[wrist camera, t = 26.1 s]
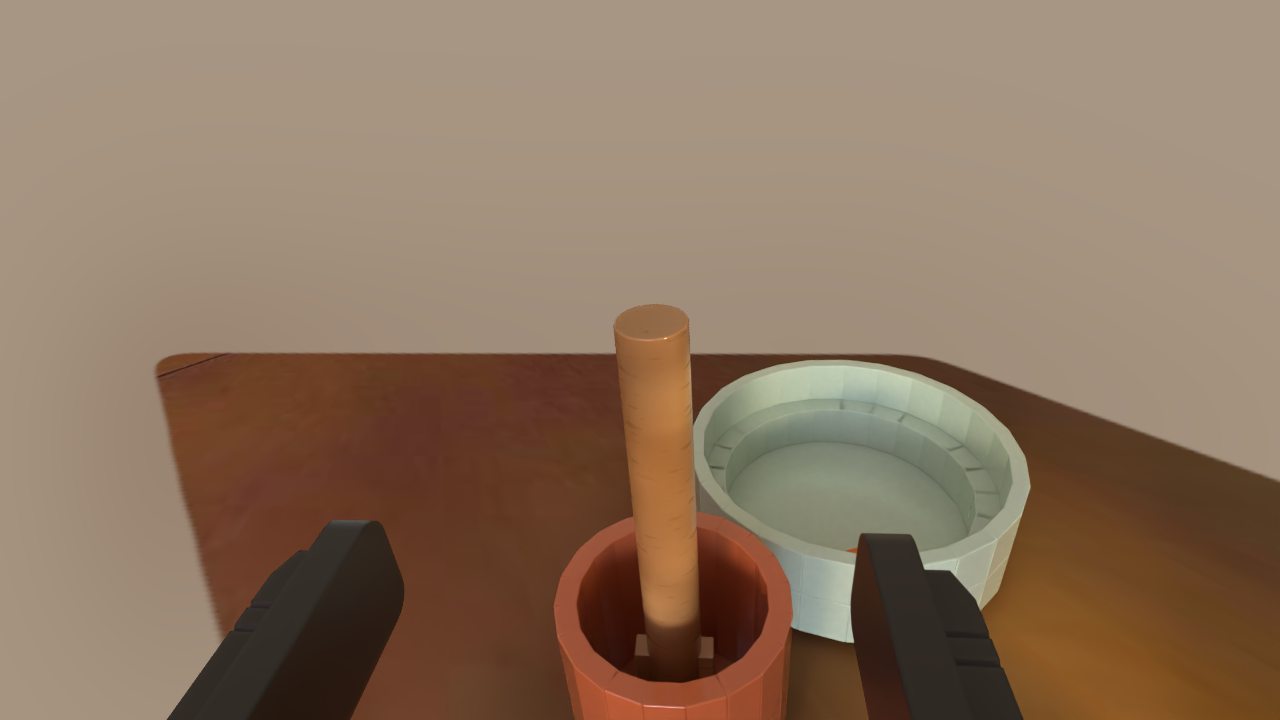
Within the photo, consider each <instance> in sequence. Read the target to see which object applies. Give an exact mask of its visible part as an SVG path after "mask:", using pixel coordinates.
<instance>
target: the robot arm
mask: <svg viewBox="0 0 1280 720" xmlns="http://www.w3.org/2000/svg"><path fill="white" fill-rule="evenodd" d="M403 601H404V583H403V579H402V576H401V573H400V570H399V568H398V565H397V562H396V560H395V557H394V554H393V552H392V549H391V546H390V544H389V541H388V538H387V536H386V533H385V530H384V528H383V526H382V525H381V523H379V522H378V521H359V520H333V521H331V522H329V523H328V524H327V525H326V526H325V527H324V529H323V530H322V531H321V533H320V534H319V536H318V537H317V539H316V540H315V542H314V543H313V545H312V546H311V548H310V549H309V551H298V552H297V553H296V554H295V555H293V556H292V557H291V558H290V559H289V560H287V561H286V562H285V563H284V564H283V565H281V566H280V567H279V568H278V569H277V570H275V571H274V572H273V573H272V574H271V575H270V576H269V578H268V579H267V580H266V582H265V583H264V585H263V586H262V587H261V589H260V590H259V592H258V593H257V594H256V596H255V597H254V599H253V600H252V601H251V607H250V608H246V610H245V611H244V613H243V614H242V615H241V617H240V618H239V620H238V621H237V622H236V624H235V629H234V631H230V632H229V633H228V635H227V636H226V638H225V639H224V640H223V642H222V643H221V645H220V646H219V647H218V649H217V650H216V652H215V653H214V654H213V656H212V657H211V659H210V660H209V662H208V663H207V664H206V666H205V667H204V668H203V670H202V671H201V673H200V674H199V675H198V677H197V678H196V680H195V681H194V683H193V684H192V685H191V687H190V688H189V689H188V691H187V692H186V694H185V695H184V697H183V698H182V699H181V701H180V702H179V703H178V705H177V706H176V708H175V709H174V710H173V712H172V713H171V715H170V716H169V717H168V719H167V720H350V719H351V717H352V715H353V713H354V710H355V708H356V706H357V704H358V702H359V700H360V698H361V696H362V694H363V692H364V689H365V687H366V685H367V683H368V681H369V679H370V677H371V675H372V673H373V671H374V669H375V666H376V664H377V662H378V660H379V658H380V656H381V654H382V652H383V650H384V648H385V646H386V643H387V641H388V639H389V637H390V635H391V633H392V631H393V629H394V627H395V625H396V622H397V620H398V618H399V616H400V613H401V610H402V606H403ZM850 611H851V626H852V634H853V639H854V645H855V650H856V655H857V660H858V665H859V670H860V675H861V680H862V685H863V690H864V695H865V700H866V706H867V711H868V716H869V720H1023V717H1022V715H1021V712H1020V710H1019V707H1018V705H1017V702H1016V700H1015V697H1014V695H1013V692H1012V689H1011V687H1010V684H1009V682H1008V679H1007V677H1006V674H1005V672H1004V669H1003V668H1002V667H1001V666H1000V659H999V657H998V654H997V652H996V649H995V647H994V644H993V642H992V639H990V638H989V631H988V629H987V626H986V624H985V621H984V619H983V616H982V614H981V611H980V609H979V606H978V604H977V601H976V599H975V598H974V597H973V596H972V595H971V593H970V592H969V591H968V590H967V589H966V588H965V587H964V586H963V584H962V583H961V582H960V581H959V580H958V579H957V578H956V577H955V575H954V574H953V573H952V572H951V571H950V570H925V569H924V566H923V563H922V560H921V557H920V554H919V551H918V548H917V545H916V543H915V540H914V538H913V537H912V535H910V534H886V533H861V534H860V536H859V541H858V548H857V555H856V562H855V569H854V577H853V584H852V591H851V602H850Z"/></svg>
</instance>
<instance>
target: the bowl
mask: <svg viewBox="0 0 1280 720" xmlns="http://www.w3.org/2000/svg"><path fill="white" fill-rule="evenodd" d="M693 441H694V467H695V493H696V511H699V512H703V513H707V514H711V515H715V516H719V517H723V518H725V519H727V520H729V521H731V522H733V523H735V524H736V525H738V526H740V527H742V528H744V529H746V530H748V531H749V532H751V533H752V534H754V535H755V536H756V537H757V538H758V539H759V540H760V541H761V542H762V543H763V544H764V545H765V546H766V547H767V548H768V549H769V550H770V551H772V552H773V553H774V556H776V557H777V559H778V561H779V563H780V565H781V567H782V569H783V571H784V573H785V575H786V577H787V579H788V580H789V583H790V588H791V596H792V605H793V626H792V628H794V629H798V630H799V631H803V632H807V633H810V634H814V635H818V636H822V637H826V638H830V639H834V640H838V641H842V642H845V641H846V642H847V643H854V639H853V634H852V626H851V611H850V602H851V591H852V584H853V577H854V569H855V562H856V555H857V554H856V553H852V552H847V550H849V549H853V548H856V547H858V541H859V536H860V534H861V533H886V534H910V535H912V537H913V538H914V540H915V543H916V545H917V548H918V551H919V554H920V557H921V560H922V563H923V566H924V569H925V570H950V571H951V572H952V573H953V574H954V575H955V577H956V578H957V579H958V580H959V581H960V582H961V583H962V584H963V586H964V587H965V588H966V589H967V590H968V591H969V592H970V593H971V595H972V596H973V597H974V598H975V599H976V601H977V604H978V606H979V609H980V611H981V610H982V609H983V607H984V606H985V605H986V604H987V603H988V602H989V601H990V600H991V598H992V597H993V596H994V595H995V594H996V593H997V592H998V590H999V587H1000V584H1001V581H1002V578H1003V575H1004V571H1005V568H1006V565H1007V562H1008V559H1009V555H1010V552H1011V549H1012V546H1013V542H1014V539H1015V536H1016V533H1017V529H1018V526H1019V523H1020V520H1021V517H1022V513H1023V510H1024V507H1025V504H1026V500H1027V497H1028V494H1029V491H1030V480H1029V474H1028V468H1027V462H1026V458H1025V455H1024V454H1023V452H1022V450H1021V449H1020V447H1019V446H1018V444H1017V442H1016V441H1015V439H1014V437H1013V436H1012V434H1011V432H1010V431H1009V430H1008V429H1007V428H1006V427H1005V426H1004V425H1003V424H1002V423H1001V422H1000V421H999V420H998V419H997V418H995V417H994V416H993V415H992V414H991V413H990V412H989V411H988V410H987V409H986V408H985V407H983V406H982V405H980V404H979V403H977V402H975V401H974V400H972V399H971V398H969V397H967V396H966V395H964V394H962V393H961V392H959V391H957V390H956V389H954V388H952V387H950V386H947V385H945V384H942V383H940V382H938V381H935V380H933V379H930V378H928V377H925V376H923V375H920V374H917V373H914V372H910V371H906V370H902V369H898V368H895V367H891V366H887V365H883V364H882V365H881V364H876V363H868V362H860V361H851V360H845V361H844V360H810V361H809V360H807V361H800V362H793V363H787V364H780V365H776V366H772V367H769V368H766V369H763V370H760V371H757V372H753V373H750V374H747V375H745V376H743V377H741V378H739V379H738V380H736V381H734V382H732V383H730V384H729V385H727V386H725V387H723V388H722V389H721V390H720V391H719V392H718V393H717V394H716V395H715V396H714V397H713V398H712V399H711V400H710V401H709V402H708V403H706V404H705V405H704V406H703V408H702V409H701V411H700V413H699V415H698V417H697V419H696V421H695V423H694V425H693Z"/></svg>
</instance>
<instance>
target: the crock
mask: <svg viewBox="0 0 1280 720" xmlns="http://www.w3.org/2000/svg"><path fill="white" fill-rule="evenodd" d="M696 519H697V545H698V571H699V597H700V623H701V637H713V638H714V668H715V675H712V676H709V677H705V678H701V679H697V680H693V681H689V682H685V683H674V682H653V681H646V680H643V679H640V678H638V677H637V672H636V664H635V656H634V654H635V645H636V636H637V634H644V635H646V630H645V620H644V611H643V601H642V592H641V583H640V573H639V564H638V554H637V545H636V535H635V526H634V516H631V517H628V518H626V519H624V520H622V521H620V522H617V523H615V524H613V525H611V526H609V527H607V528H605V529H603V530H602V531H599V532H598V533H597V534H596V535H595V536H593V537H592V538H591V539H590V540H589V541H587V542H586V543H585V544H584V545H583V546H582V547H580V548H579V549H578V551H577V552H576V553H575V555H574V556H573V558H572V559H571V561H570V562H569V564H568V566H567V567H566V569H565V570H564V572H563V573H562V575H561V577H560V581H559V585H558V589H557V593H556V597H555V601H554V608H553V610H554V617H555V625H556V632H557V639H558V643H559V648H560V653H561V657H562V662H563V666H564V671H565V676H566V680H567V685H568V690H569V694H570V699H571V704H572V708H573V713H574V718H575V720H786V708H787V695H788V681H789V667H790V653H791V639H792V626H793V605H792V596H791V588H790V583H789V580H788V579H787V577H786V575H785V573H784V571H783V569H782V567H781V565H780V563H779V561H778V559H777V557H776V556H774V553H773V552H772V551H770V550H769V549H768V548H767V547H766V546H765V545H764V544H763V543H762V542H761V541H760V540H759V539H758V538H757V537H756V536H755V535H754V534H752V533H751V532H749V531H748V530H746V529H744V528H742V527H740V526H738V525H736V524H735V523H733V522H731V521H729V520H727V519H725V518H723V517H719V516H715V515H711V514H707V513H703V512H699V511H696Z"/></svg>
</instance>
